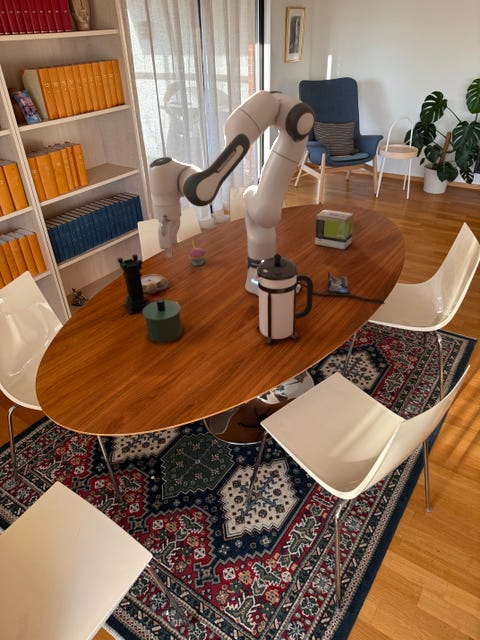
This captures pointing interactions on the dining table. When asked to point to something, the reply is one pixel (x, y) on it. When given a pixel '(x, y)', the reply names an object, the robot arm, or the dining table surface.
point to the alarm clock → (153, 283)
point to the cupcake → (197, 255)
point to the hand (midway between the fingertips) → (172, 250)
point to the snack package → (337, 284)
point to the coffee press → (280, 297)
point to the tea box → (334, 229)
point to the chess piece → (133, 284)
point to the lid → (161, 310)
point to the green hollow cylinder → (164, 329)
